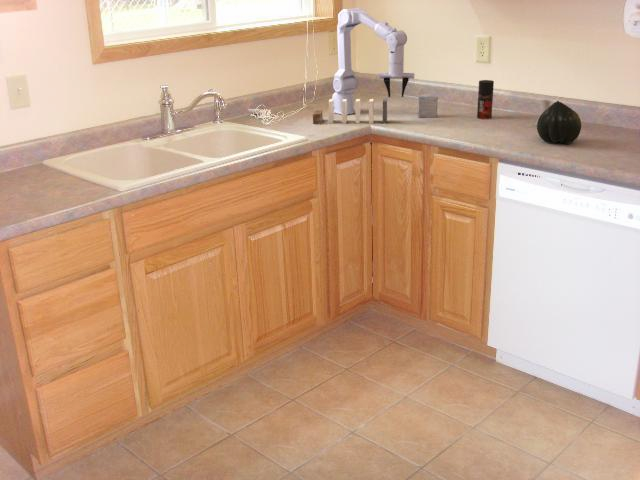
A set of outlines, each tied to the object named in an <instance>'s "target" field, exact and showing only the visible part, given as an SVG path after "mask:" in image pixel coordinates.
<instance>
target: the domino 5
mask: <svg viewBox="0 0 640 480" xmlns="http://www.w3.org/2000/svg"><path fill="white" fill-rule="evenodd" d="M387 123H388V98H383V99H382V124H387Z"/></svg>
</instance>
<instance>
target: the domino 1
mask: <svg viewBox="0 0 640 480" xmlns="http://www.w3.org/2000/svg"><path fill="white" fill-rule="evenodd" d="M334 121H335V113H334V99H332V98H329V100H328V124H334Z"/></svg>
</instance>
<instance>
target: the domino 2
mask: <svg viewBox="0 0 640 480" xmlns="http://www.w3.org/2000/svg"><path fill="white" fill-rule="evenodd" d="M341 118H342V119H341V120H342V121H341V122H342V124H347V122H348V114H347V99H343V100H342V114H341Z"/></svg>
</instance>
